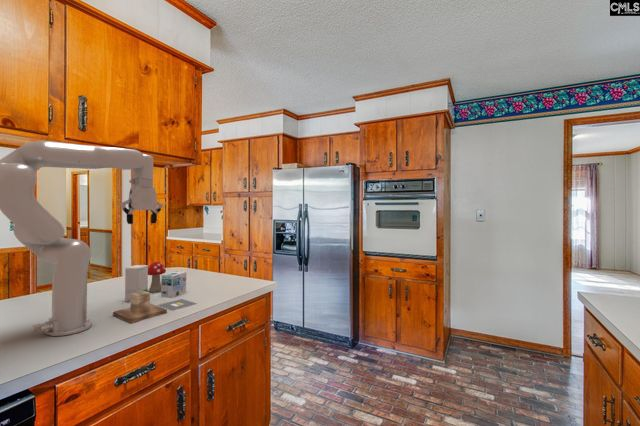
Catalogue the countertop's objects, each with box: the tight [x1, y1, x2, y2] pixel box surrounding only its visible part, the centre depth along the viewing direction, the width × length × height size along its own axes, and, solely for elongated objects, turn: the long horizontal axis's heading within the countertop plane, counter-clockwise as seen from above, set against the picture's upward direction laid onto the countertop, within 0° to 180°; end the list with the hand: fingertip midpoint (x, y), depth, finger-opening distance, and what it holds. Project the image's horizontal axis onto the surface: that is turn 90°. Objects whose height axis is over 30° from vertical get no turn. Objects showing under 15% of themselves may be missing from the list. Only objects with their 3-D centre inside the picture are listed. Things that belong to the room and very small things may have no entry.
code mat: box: [157, 298, 198, 312], centre depth 137 cm, size 12×12×1 cm
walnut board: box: [112, 303, 168, 324], centre depth 124 cm, size 14×14×2 cm
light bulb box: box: [160, 270, 187, 299], centre depth 153 cm, size 11×7×11 cm, turn 168°
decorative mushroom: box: [148, 261, 167, 294], centre depth 158 cm, size 10×9×15 cm
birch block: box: [130, 291, 151, 313], centre depth 124 cm, size 5×5×7 cm
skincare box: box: [124, 264, 149, 303], centre depth 143 cm, size 8×7×16 cm
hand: (142, 223), depth 131 cm, fingers open, 9 cm apart
